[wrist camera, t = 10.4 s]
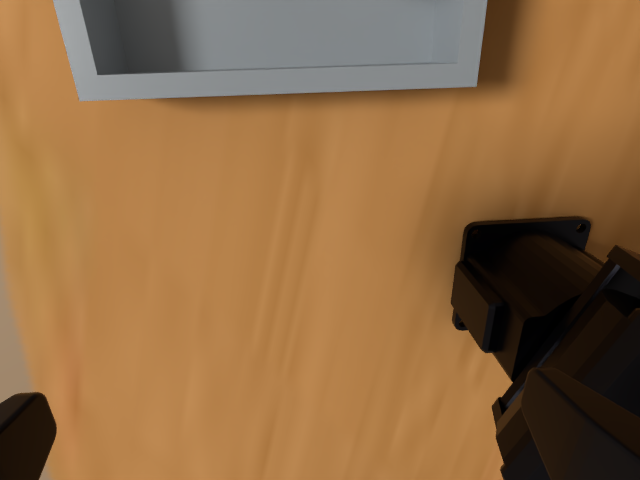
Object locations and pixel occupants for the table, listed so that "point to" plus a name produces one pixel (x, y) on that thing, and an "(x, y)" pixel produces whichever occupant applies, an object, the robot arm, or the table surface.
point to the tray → (268, 46)
